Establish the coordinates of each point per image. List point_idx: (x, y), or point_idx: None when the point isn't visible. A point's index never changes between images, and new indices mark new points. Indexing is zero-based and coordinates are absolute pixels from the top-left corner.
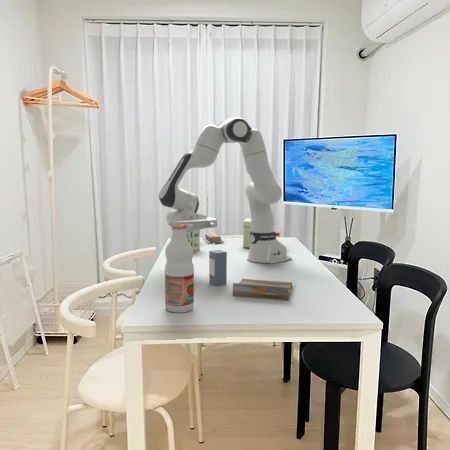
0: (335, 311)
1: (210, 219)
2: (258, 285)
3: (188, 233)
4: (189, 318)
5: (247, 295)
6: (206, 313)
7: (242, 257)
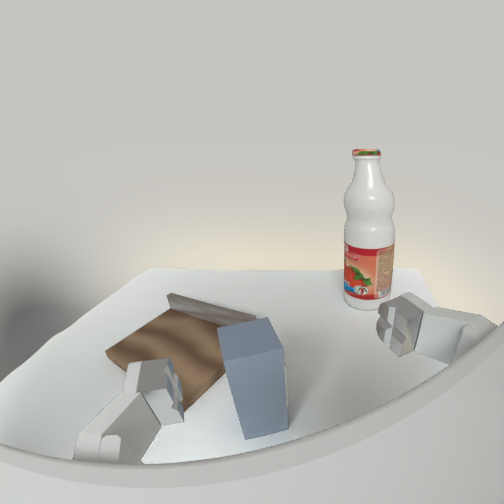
0: (156, 284)
1: (34, 484)
2: (209, 304)
3: None
4: None
5: None
6: (324, 287)
7: None
